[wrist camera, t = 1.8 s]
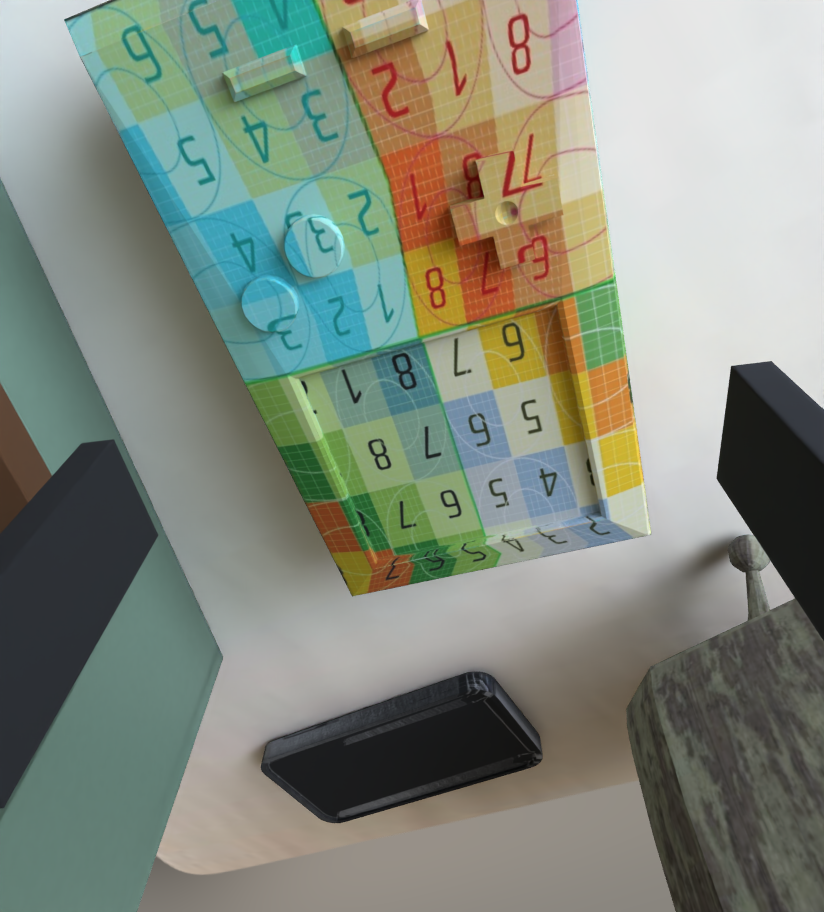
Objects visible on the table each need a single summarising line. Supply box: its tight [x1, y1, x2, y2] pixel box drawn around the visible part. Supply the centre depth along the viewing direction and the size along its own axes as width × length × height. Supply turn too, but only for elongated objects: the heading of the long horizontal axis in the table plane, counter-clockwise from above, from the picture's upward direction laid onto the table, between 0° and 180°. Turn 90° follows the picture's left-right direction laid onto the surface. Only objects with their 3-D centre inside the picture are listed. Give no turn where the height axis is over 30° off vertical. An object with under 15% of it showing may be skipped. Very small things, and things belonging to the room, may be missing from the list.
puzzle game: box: [64, 0, 651, 596], centre depth 20 cm, size 12×5×20 cm
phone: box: [261, 672, 543, 823], centre depth 36 cm, size 8×1×15 cm
